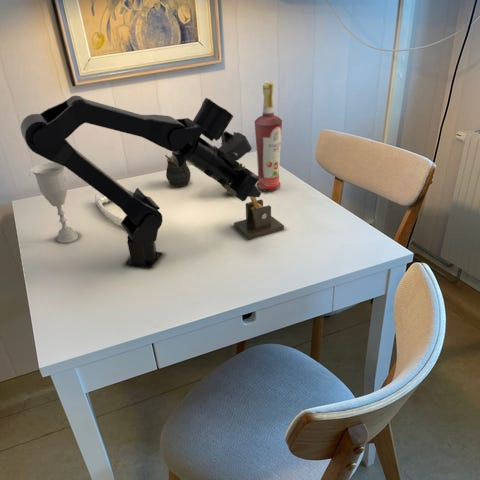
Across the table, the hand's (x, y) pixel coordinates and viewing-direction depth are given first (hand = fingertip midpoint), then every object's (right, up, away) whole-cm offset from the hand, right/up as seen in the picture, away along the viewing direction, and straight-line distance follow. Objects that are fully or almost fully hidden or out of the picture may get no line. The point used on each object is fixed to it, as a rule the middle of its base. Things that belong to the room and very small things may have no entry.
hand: (254, 191), depth 117 cm
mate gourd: (-22, +10, +31) cm, 39 cm away
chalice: (-47, -10, +7) cm, 48 cm away
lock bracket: (+1, -8, +6) cm, 10 cm away
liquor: (+5, +8, +26) cm, 28 cm away
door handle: (-35, -2, +17) cm, 39 cm away
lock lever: (-1, -3, +1) cm, 3 cm away
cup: (-5, +5, +24) cm, 25 cm away
